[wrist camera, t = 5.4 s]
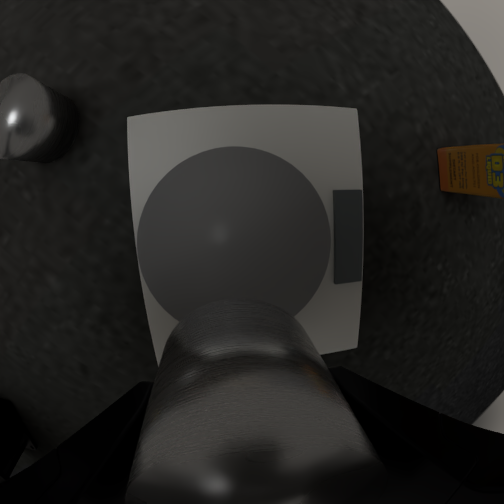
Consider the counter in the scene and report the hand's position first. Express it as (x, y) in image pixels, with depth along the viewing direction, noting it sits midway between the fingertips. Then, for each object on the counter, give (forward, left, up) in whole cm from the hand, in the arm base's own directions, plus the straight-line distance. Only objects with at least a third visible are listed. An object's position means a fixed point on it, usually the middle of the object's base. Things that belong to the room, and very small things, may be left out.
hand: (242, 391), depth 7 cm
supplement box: (+6, -16, -11) cm, 21 cm away
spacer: (0, 0, -1) cm, 1 cm away
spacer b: (+10, +11, -10) cm, 18 cm away
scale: (+2, -1, -10) cm, 11 cm away
